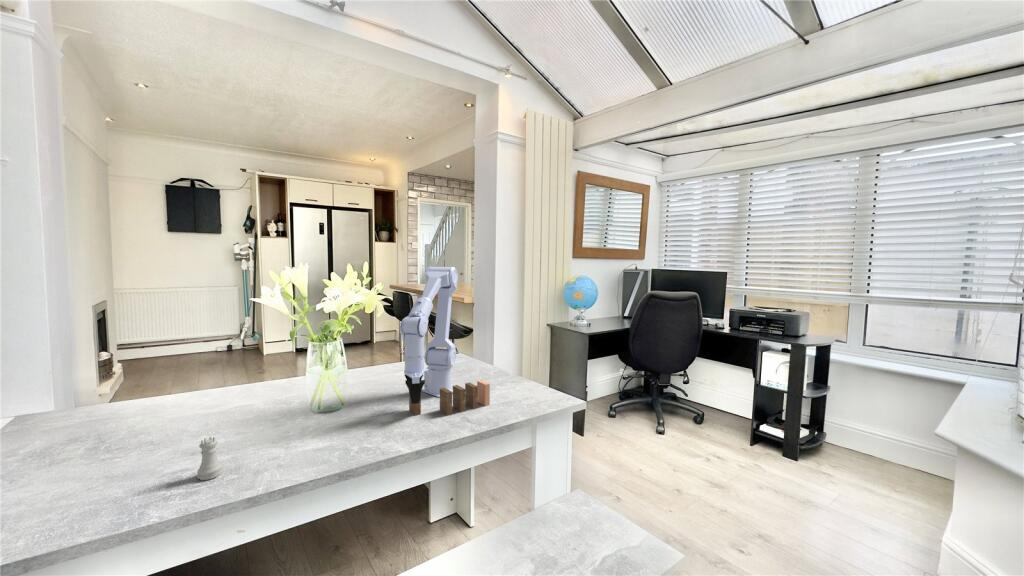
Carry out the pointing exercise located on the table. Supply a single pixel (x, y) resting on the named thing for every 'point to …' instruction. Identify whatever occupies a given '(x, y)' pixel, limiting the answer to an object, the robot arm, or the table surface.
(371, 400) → the table surface
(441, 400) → the domino
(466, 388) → the domino
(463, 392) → the domino
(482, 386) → the domino
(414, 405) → the domino
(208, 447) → the rook chess piece
